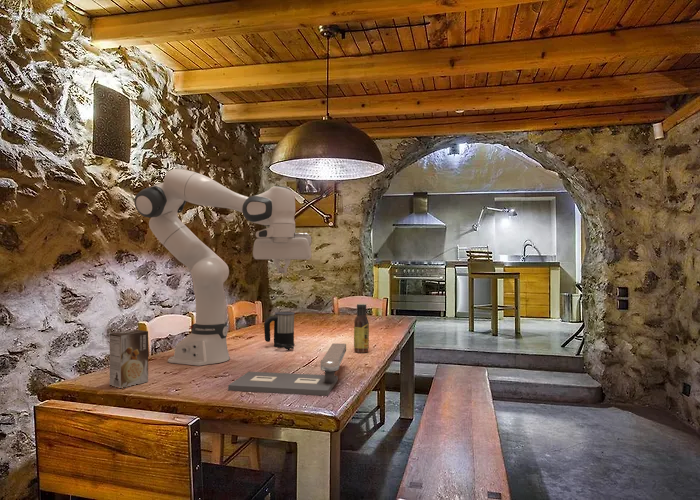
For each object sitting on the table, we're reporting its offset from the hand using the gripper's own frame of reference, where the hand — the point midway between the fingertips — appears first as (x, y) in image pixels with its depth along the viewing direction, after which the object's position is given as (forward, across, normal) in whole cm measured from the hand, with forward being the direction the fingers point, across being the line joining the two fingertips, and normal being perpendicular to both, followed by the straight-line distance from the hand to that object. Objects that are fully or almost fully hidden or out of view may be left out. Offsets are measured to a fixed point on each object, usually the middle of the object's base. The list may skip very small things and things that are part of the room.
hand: (282, 272), depth 152 cm
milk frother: (+34, +11, -40) cm, 54 cm away
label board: (+34, -6, +15) cm, 38 cm away
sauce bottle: (+34, -23, -37) cm, 55 cm away
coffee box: (+34, +42, +22) cm, 59 cm away
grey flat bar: (+29, -19, +3) cm, 34 cm away
